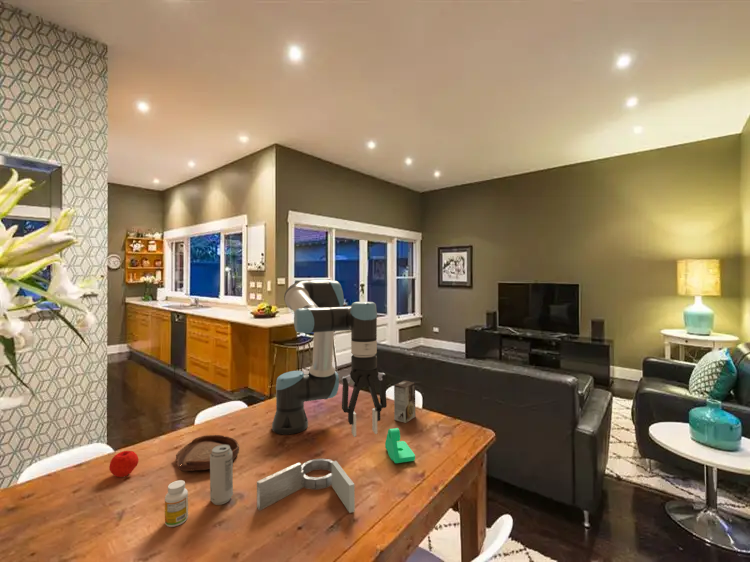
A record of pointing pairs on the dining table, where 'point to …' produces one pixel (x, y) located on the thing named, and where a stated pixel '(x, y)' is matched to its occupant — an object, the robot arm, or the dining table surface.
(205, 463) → the basket
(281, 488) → the hinge fixed
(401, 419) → the coffee box
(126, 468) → the apple
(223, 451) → the energy drink can
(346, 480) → the hinge leaf
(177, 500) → the supplement bottle
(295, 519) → the dining table surface
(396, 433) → the camera mount
